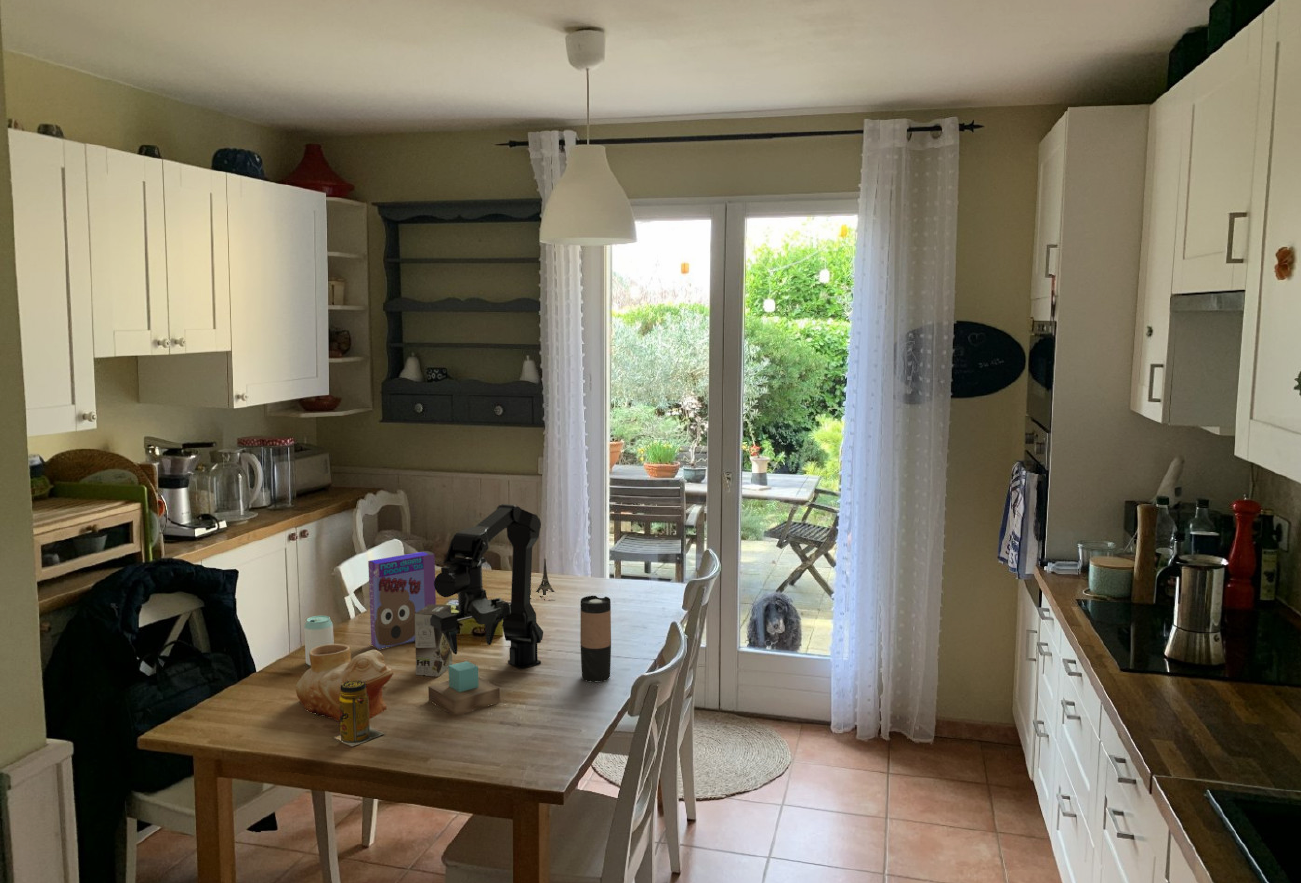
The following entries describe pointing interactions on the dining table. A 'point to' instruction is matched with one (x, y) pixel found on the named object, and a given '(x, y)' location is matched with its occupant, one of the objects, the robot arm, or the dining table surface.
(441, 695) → the walnut block
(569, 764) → the dining table surface
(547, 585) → the eiffel tower figurine
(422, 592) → the cereal box
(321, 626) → the can
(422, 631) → the coffee box
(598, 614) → the travel mug
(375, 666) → the ceramic vessel
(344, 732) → the condiment
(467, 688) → the teal block
